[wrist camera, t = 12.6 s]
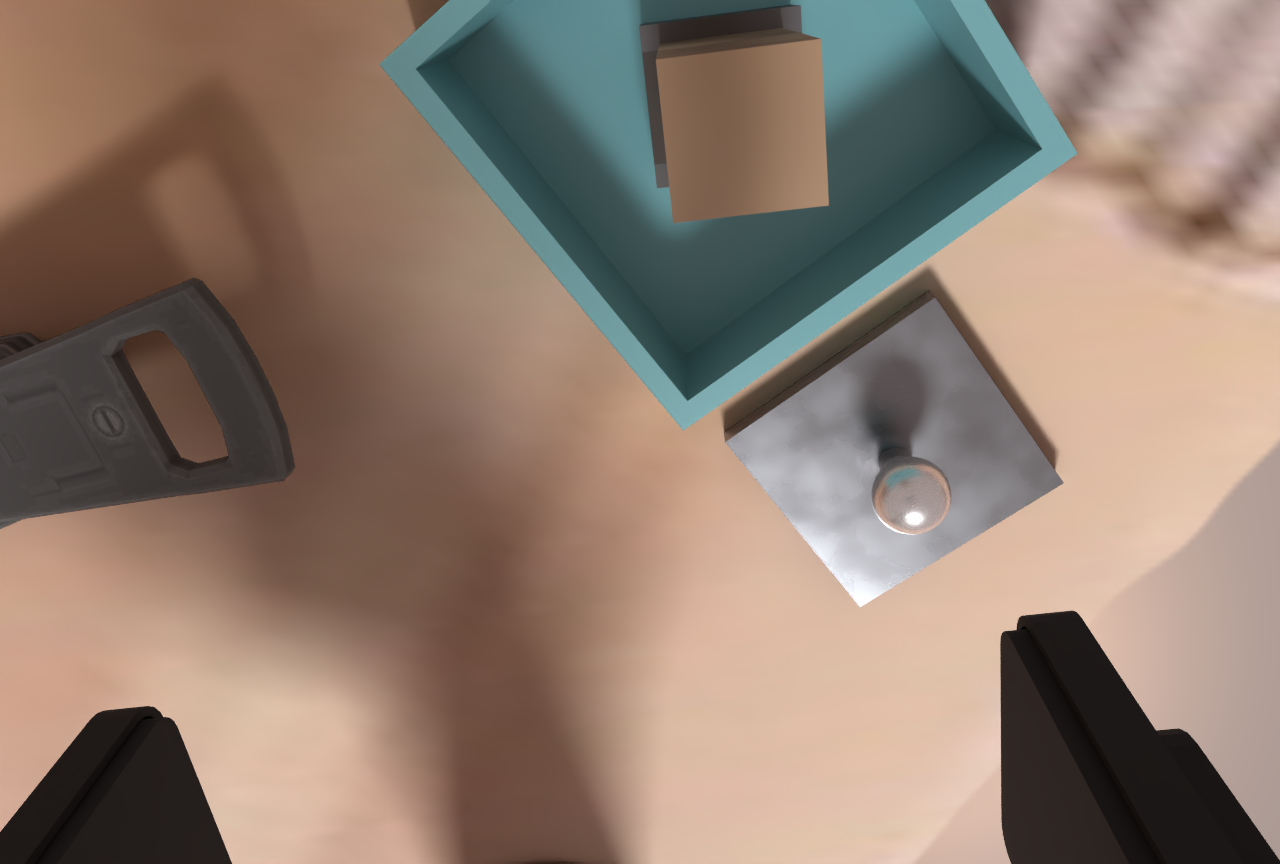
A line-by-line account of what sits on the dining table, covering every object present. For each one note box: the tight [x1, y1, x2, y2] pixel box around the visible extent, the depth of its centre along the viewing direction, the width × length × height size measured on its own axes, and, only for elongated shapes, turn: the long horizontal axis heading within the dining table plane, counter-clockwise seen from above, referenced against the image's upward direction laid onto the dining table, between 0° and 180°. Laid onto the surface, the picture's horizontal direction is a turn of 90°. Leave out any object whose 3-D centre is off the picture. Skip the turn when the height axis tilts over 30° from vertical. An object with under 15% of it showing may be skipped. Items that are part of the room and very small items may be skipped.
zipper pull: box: [0, 278, 295, 529], centre depth 40 cm, size 9×7×25 cm
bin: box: [379, 0, 1078, 430], centre depth 35 cm, size 16×16×6 cm
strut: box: [639, 5, 829, 223], centre depth 31 cm, size 5×5×12 cm
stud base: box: [724, 291, 1063, 607], centre depth 40 cm, size 10×10×6 cm
